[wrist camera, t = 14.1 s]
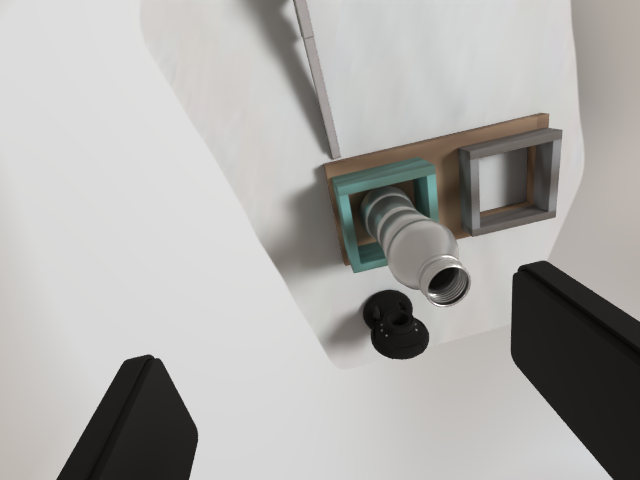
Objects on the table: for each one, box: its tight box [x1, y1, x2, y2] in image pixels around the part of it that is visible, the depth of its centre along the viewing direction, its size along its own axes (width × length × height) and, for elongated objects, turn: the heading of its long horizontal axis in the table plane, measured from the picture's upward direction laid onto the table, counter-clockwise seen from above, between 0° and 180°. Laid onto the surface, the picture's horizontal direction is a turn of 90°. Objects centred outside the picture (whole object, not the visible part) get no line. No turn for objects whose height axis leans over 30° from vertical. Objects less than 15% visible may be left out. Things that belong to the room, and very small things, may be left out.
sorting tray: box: [324, 113, 562, 273], centre depth 44 cm, size 14×28×6 cm, turn 102°
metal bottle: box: [359, 186, 471, 307], centre depth 36 cm, size 6×7×20 cm
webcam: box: [363, 290, 429, 359], centre depth 49 cm, size 8×8×10 cm
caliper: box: [293, 0, 341, 159], centre depth 37 cm, size 20×1×6 cm, turn 16°
